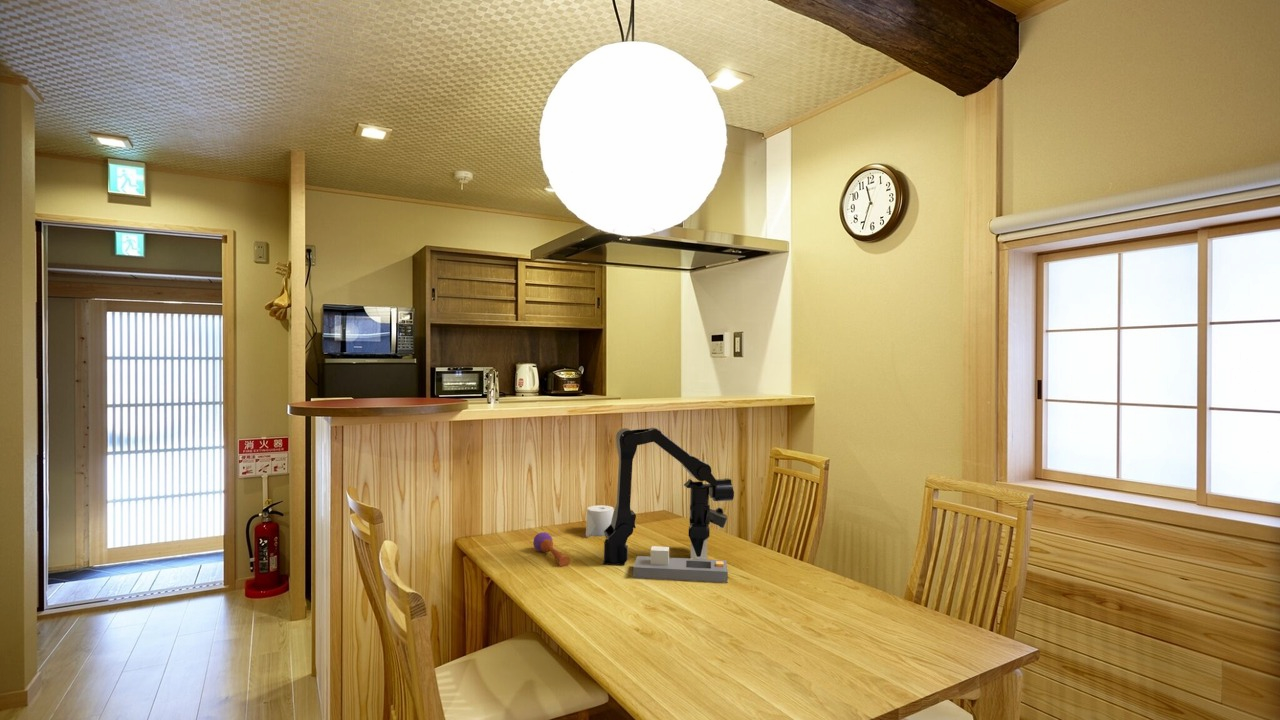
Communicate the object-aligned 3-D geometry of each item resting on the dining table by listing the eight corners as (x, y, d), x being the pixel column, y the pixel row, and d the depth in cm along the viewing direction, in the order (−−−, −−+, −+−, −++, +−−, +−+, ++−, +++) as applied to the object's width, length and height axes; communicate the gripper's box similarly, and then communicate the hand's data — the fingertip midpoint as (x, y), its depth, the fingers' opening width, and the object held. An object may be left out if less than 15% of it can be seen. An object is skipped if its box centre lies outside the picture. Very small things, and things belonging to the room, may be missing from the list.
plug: (690, 559, 190) (690, 536, 190) (690, 555, 194) (691, 532, 194) (706, 560, 190) (707, 537, 190) (706, 556, 194) (707, 533, 194)
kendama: (553, 555, 180) (529, 533, 197) (556, 574, 181) (531, 550, 198) (572, 548, 183) (546, 527, 200) (575, 567, 184) (549, 544, 201)
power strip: (633, 577, 173) (633, 552, 173) (637, 566, 183) (637, 542, 183) (727, 582, 170) (727, 557, 170) (726, 570, 180) (726, 546, 180)
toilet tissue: (584, 539, 210) (584, 513, 210) (589, 528, 223) (589, 504, 223) (610, 540, 209) (611, 514, 209) (614, 529, 223) (614, 505, 223)
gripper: (727, 509, 182) (726, 563, 182) (724, 496, 200) (724, 544, 200) (688, 508, 183) (688, 561, 183) (690, 494, 202) (689, 543, 201)
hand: (698, 552), depth 192 cm, fingers open, 8 cm apart
